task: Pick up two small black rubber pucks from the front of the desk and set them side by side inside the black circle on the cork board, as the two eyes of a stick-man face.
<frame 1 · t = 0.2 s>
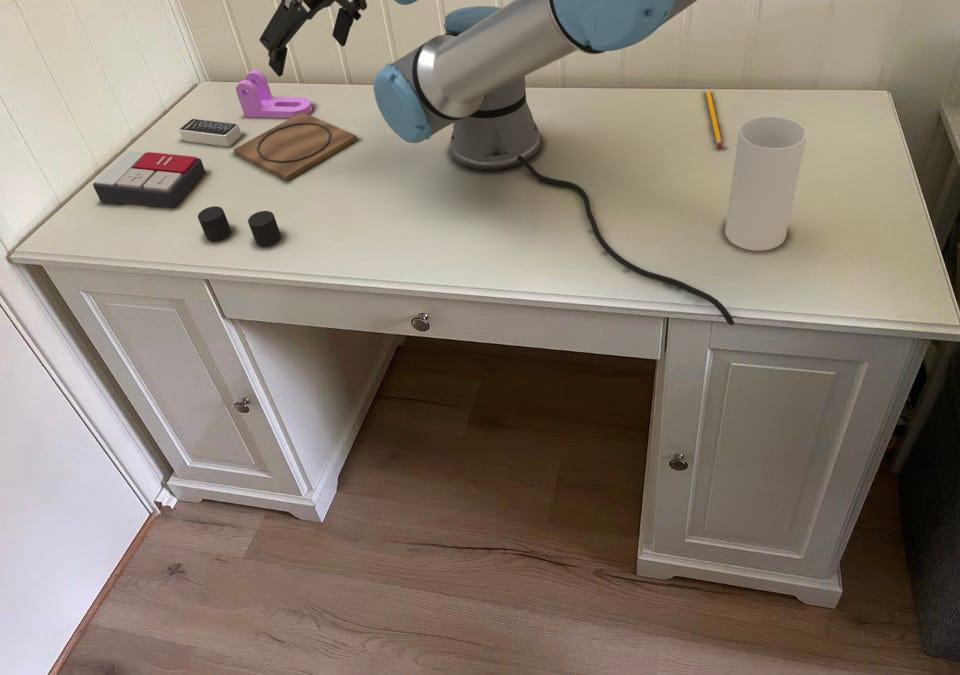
hand: (307, 54, 133), 15 cm above the table, tool tilted 35°, fingers open, 13 cm apart
pencil: (713, 120, 134), on the table
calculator: (155, 188, 137), on the table
eye puck 2: (268, 239, 123), on the table
eye puck 1: (219, 234, 125), on the table
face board: (295, 147, 142), on the table
bracket: (281, 111, 153), on the table
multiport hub: (212, 138, 148), on the table
cup: (754, 233, 111), on the table
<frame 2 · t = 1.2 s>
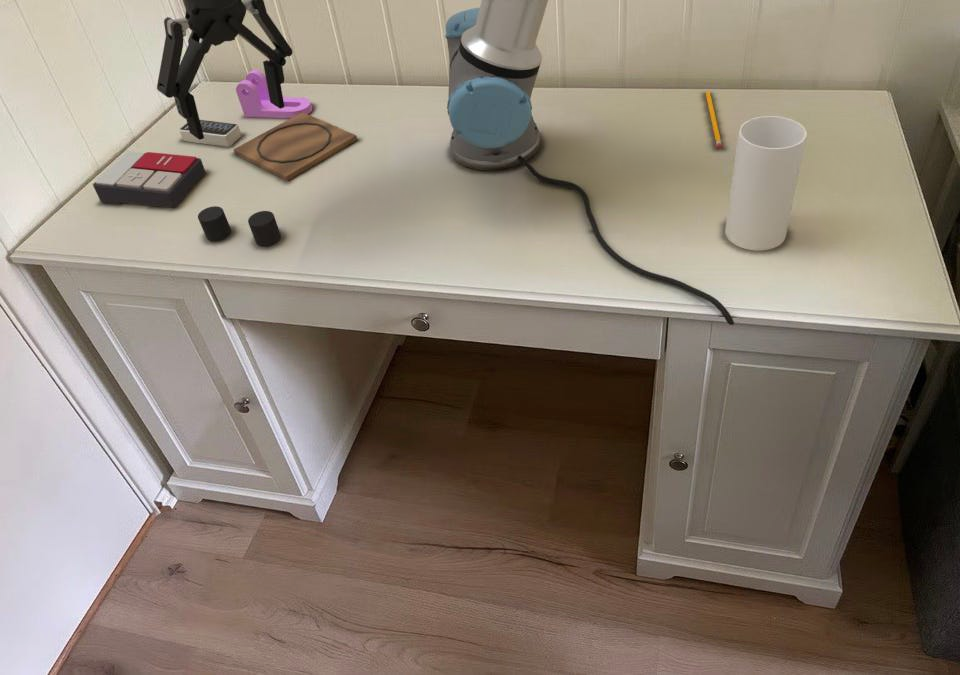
hand: (238, 120, 116), 17 cm above the table, tool pointing down, fingers open, 13 cm apart
nothing on the table moved.
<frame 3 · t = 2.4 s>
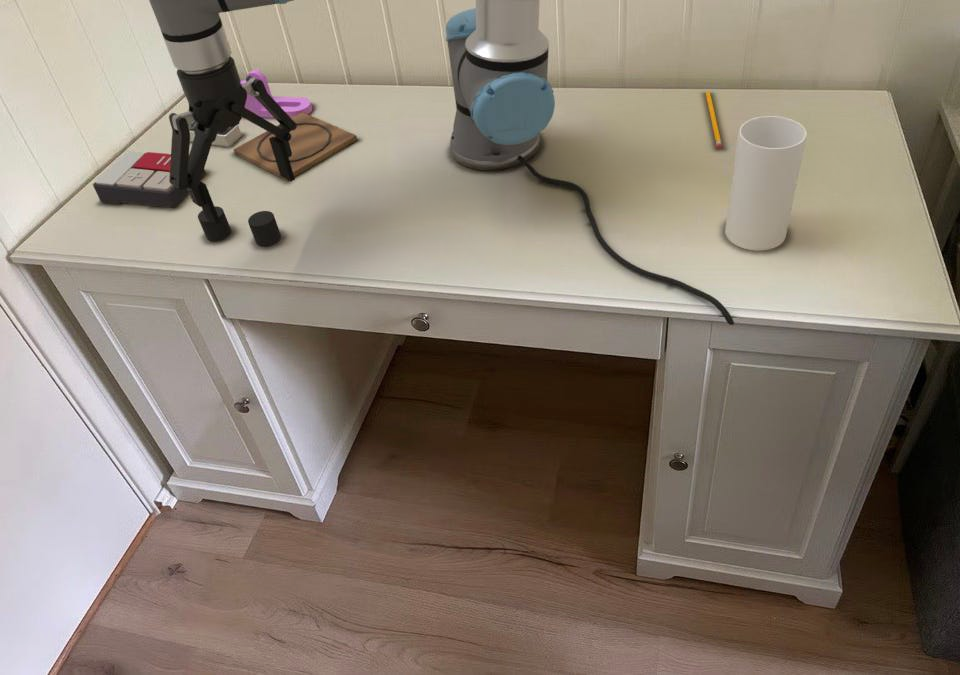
hand: (251, 198, 117), 8 cm above the table, tool pointing down, fingers open, 13 cm apart
nothing on the table moved.
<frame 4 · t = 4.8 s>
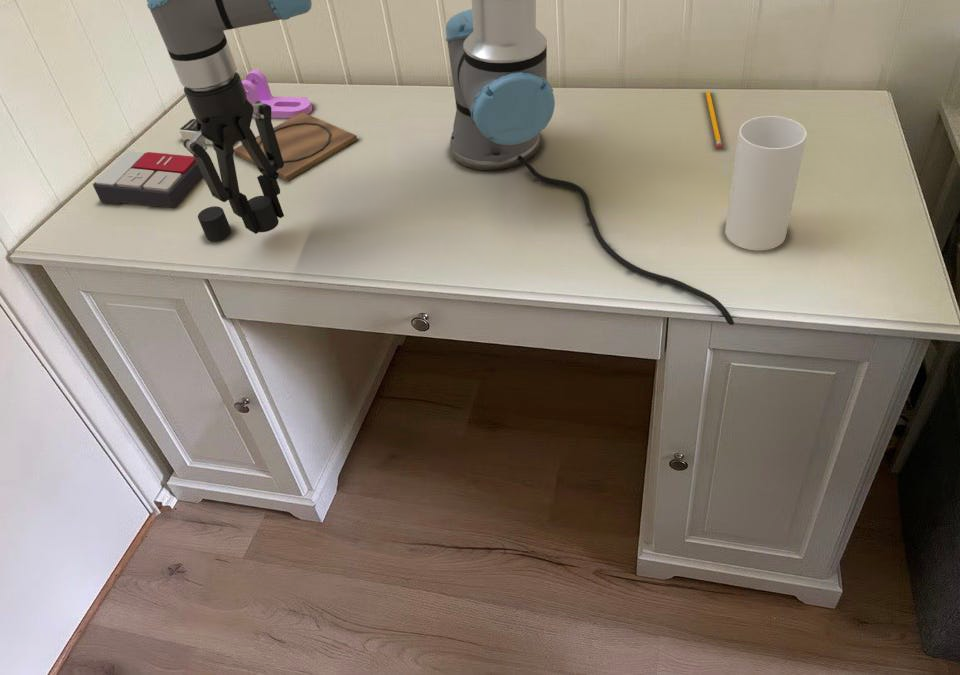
hand: (265, 221, 120), 3 cm above the table, tool pointing down, fingers closed on eye puck 2, 4 cm apart
eye puck 2: (265, 224, 121), point 3 cm above the table, touching gripper
everything else where it was.
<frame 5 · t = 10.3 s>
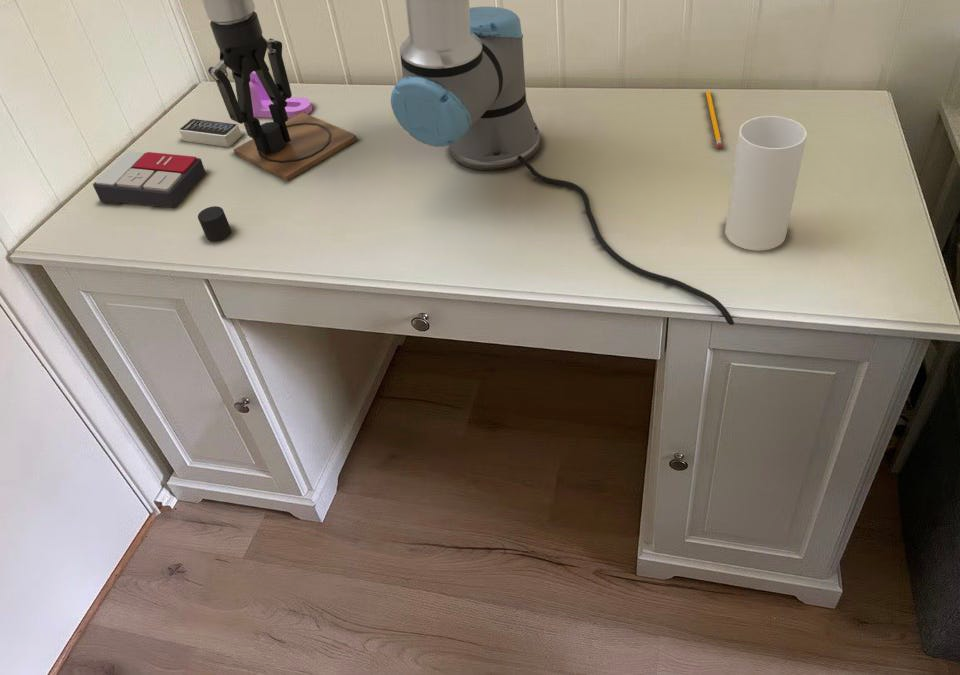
hand: (274, 145, 141), 1 cm above the table, tool pointing down, fingers closed on eye puck 2, 4 cm apart
eye puck 2: (274, 147, 141), point 1 cm above the table, touching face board, gripper
everything else where it was.
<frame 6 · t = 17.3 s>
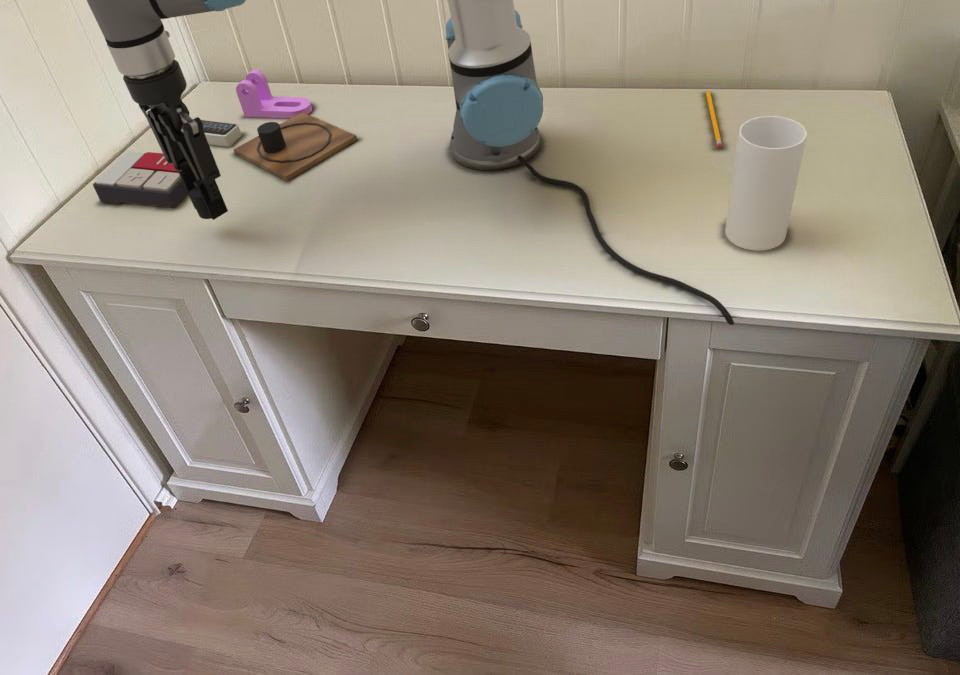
hand: (211, 209, 122), 5 cm above the table, tool pointing down, fingers closed on eye puck 1, 4 cm apart
eye puck 2: (274, 147, 141), point 1 cm above the table, touching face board
eye puck 1: (211, 211, 122), point 4 cm above the table, touching gripper
everything else where it was.
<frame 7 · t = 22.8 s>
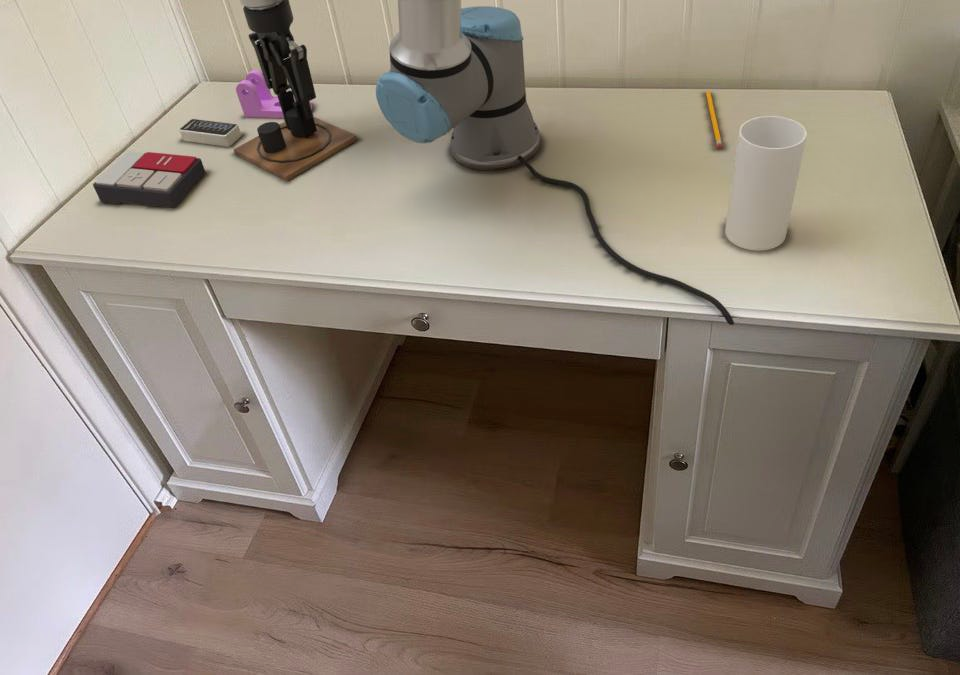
hand: (302, 129, 144), 1 cm above the table, tool pointing down, fingers closed on eye puck 1, 4 cm apart
eye puck 1: (302, 131, 144), point 1 cm above the table, touching gripper
everything else where it was.
when the fingers open (3 cm above the table, at t = 28.7 s): eye puck 1 drops 2 cm, resting on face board.
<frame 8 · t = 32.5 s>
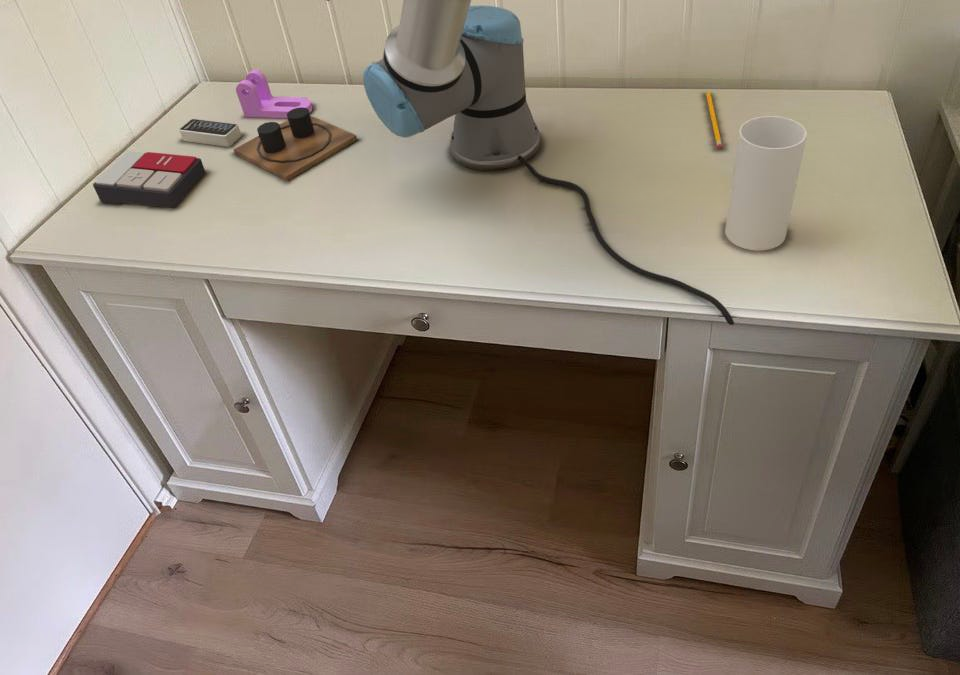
eye puck 1: (303, 132, 144), point 1 cm above the table, touching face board
everything else where it was.
at the end: eye puck 2 0.2 cm from the target spot on the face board, point 1.0 cm above the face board's base; eye puck 1 0.2 cm from the target spot on the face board, point 1.0 cm above the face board's base; eye puck 1 tilted 0° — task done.
